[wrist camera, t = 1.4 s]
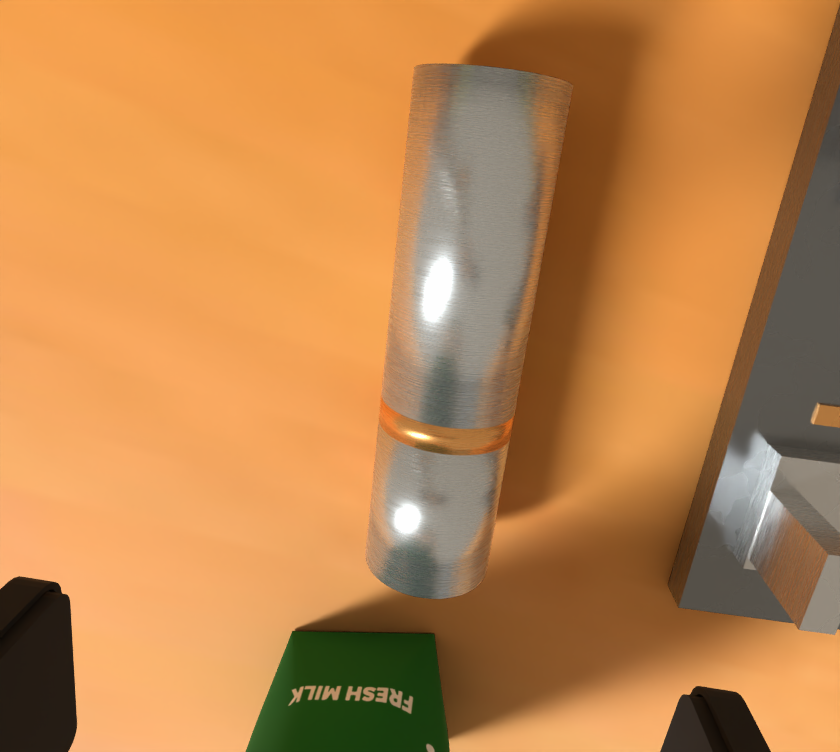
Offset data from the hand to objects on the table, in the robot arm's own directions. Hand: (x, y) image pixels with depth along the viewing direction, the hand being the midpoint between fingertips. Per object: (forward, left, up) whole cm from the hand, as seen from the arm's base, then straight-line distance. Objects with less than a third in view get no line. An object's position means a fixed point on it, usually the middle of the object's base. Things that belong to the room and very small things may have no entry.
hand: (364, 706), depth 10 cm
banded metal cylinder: (-1, +1, -15) cm, 15 cm away
